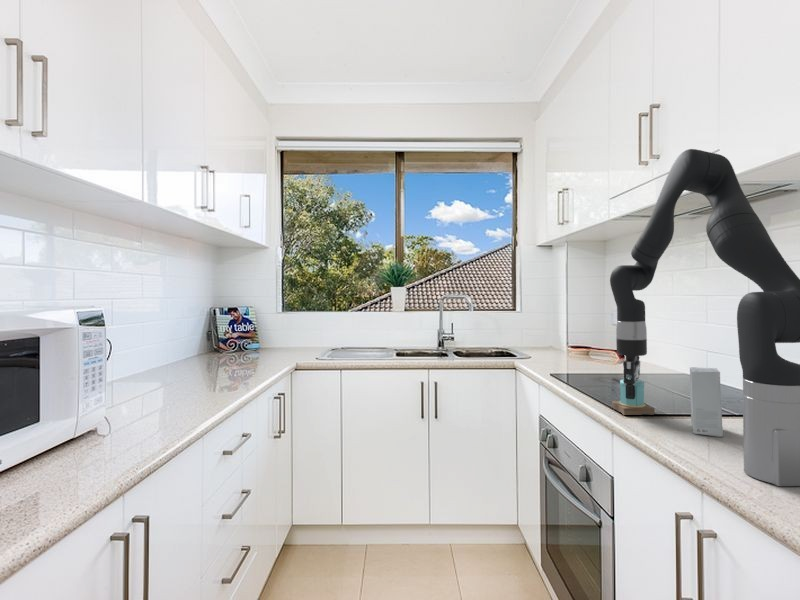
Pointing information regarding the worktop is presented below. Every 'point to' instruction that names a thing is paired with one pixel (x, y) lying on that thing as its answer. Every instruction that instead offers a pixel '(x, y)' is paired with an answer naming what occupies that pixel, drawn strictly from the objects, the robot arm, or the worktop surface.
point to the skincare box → (706, 401)
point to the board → (632, 408)
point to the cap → (638, 394)
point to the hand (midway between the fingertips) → (632, 395)
